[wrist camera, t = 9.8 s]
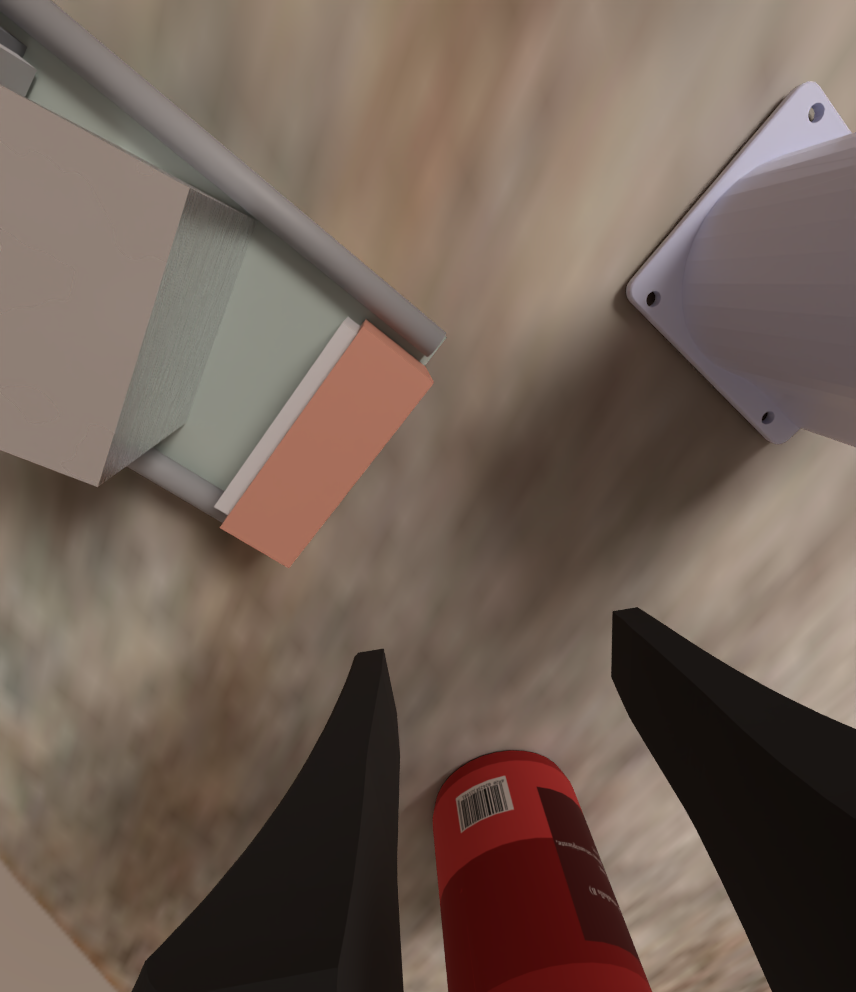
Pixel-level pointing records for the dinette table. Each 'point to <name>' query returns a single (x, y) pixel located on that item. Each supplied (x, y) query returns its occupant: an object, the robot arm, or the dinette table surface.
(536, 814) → the canned food
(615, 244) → the dinette table surface
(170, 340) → the aluminium block
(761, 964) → the robot arm
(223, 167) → the vise base
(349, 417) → the block
